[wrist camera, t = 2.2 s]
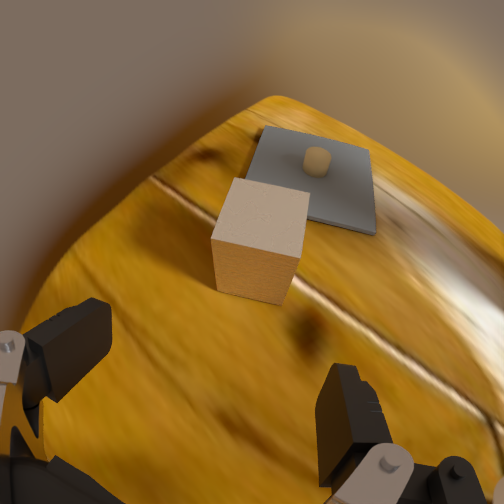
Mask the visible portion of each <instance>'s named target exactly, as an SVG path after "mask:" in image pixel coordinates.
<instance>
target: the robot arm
mask: <svg viewBox="0 0 504 504" xmlns="http://www.w3.org/2000/svg"><path fill="white" fill-rule="evenodd" d="M111 345H112V313H111V306H110V304H108V303H106V302H103V301H100V300H98V299H95V298H89V299H87V300H86V301H84V302H82V303H81V304H79V305H77V306H73V307H69V308H66V309H64V310H62V311H61V312H59V313H57V314H56V315H54V316H52V317H51V318H49V320H46V321H44V322H42V323H41V324H39V325H38V326H36V327H34V328H33V329H31V330H30V331H28V332H26V333H25V334H23V335H21V334H20V333H18V332H15V331H10V330H6V331H1V332H0V504H125V503H123V502H122V501H120V500H119V499H118V498H116V497H115V496H114V495H112V494H111V493H110V492H108V491H107V490H106V489H105V488H103V487H102V486H101V485H100V484H99V483H97V482H96V481H95V480H94V479H93V478H91V477H90V476H89V475H87V474H85V473H84V472H82V471H80V470H78V469H77V468H75V467H73V466H72V465H70V464H69V463H67V462H65V461H64V460H62V459H61V458H59V457H58V456H56V455H55V456H54V458H53V459H52V460H51V461H50V462H48V460H47V457H46V454H45V450H44V441H43V407H44V406H43V401H42V399H43V398H44V397H45V396H47V397H48V398H50V399H51V400H53V401H54V402H56V403H58V402H59V401H60V400H61V399H62V398H63V397H64V396H65V395H66V394H67V393H68V392H69V391H70V390H71V389H72V388H73V387H74V386H75V385H76V384H77V383H78V382H79V381H80V380H81V379H82V378H83V377H84V376H85V375H86V374H87V373H88V372H89V371H90V370H91V369H93V368H94V367H95V366H96V365H97V364H98V363H99V362H100V361H101V360H102V359H103V358H104V357H105V356H106V355H107V354H108V352H109V351H110V348H111ZM315 419H316V433H317V450H318V470H319V487H331V489H332V495H331V496H330V497H329V498H328V499H327V500H326V501H325V502H324V503H323V504H487V502H486V499H485V497H484V494H483V491H482V488H481V486H480V483H479V480H478V478H477V475H476V473H475V470H474V468H473V466H472V465H471V464H470V463H469V462H468V461H467V460H465V459H464V458H461V457H458V456H450V457H447V458H445V459H444V460H443V461H442V462H441V463H440V464H439V465H438V466H437V467H433V466H427V465H421V464H416V463H414V462H413V459H412V457H411V455H410V454H409V453H408V452H407V451H406V450H405V449H404V448H402V447H400V446H398V445H396V444H393V441H392V438H391V435H390V432H389V429H388V426H387V423H386V420H385V417H384V414H383V413H382V409H381V406H380V404H379V400H378V397H377V394H376V392H375V390H374V389H373V388H372V387H371V386H370V385H369V384H368V382H367V381H361V380H360V377H359V374H358V370H357V368H356V366H353V365H346V364H339V363H334V364H333V365H332V366H331V368H330V371H329V373H328V375H327V378H326V380H325V382H324V385H323V387H322V389H321V391H320V394H319V396H318V399H317V402H316V407H315Z"/></svg>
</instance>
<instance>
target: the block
mask: <svg viewBox="0 0 504 504" xmlns="http://www.w3.org/2000/svg"><path fill="white" fill-rule="evenodd" d="M309 197H310V193H307V192H303V191H299V190H294V189H290V188H285V187H280V186H276V185H271V184H266V183H261V182H256V181H251V180H246V179H241V178H235V177H234V180H233V182H232V185H231V187H230V190H229V192H228V195H227V197H226V200H225V202H224V205H223V207H222V210H221V212H220V215H219V218H218V220H217V223H216V225H215V228H214V231H213V233H212V236H211V245H212V253H213V261H214V269H215V276H216V284H217V291H220V292H224V293H228V294H232V295H237V296H241V297H245V298H249V299H253V300H258V301H262V302H267V303H271V304H275V305H280V306H282V304H283V301H284V299H285V296H286V294H287V291H288V289H289V286H290V284H291V281H292V279H293V276H294V274H295V271H296V269H297V266H298V264H299V261H300V258H301V252H302V246H303V239H304V233H305V226H306V219H307V212H308V205H309Z"/></svg>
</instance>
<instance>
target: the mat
mask: <svg viewBox="0 0 504 504" xmlns="http://www.w3.org/2000/svg"><path fill="white" fill-rule="evenodd" d="M245 179H246V180H251V181H256V182H261V183H266V184H271V185H276V186H280V187H285V188H290V189H294V190H299V191H303V192H307V193H310V197H309V205H308V212H307V219H309V220H313V221H318V222H322V223H326V224H330V225H334V226H338V227H342V228H346V229H350V230H354V231H358V232H362V233H366V234H370V235H375V234H376V218H375V203H374V191H373V181H372V171H371V163H370V155H369V150H367V149H364V148H361V147H357V146H354V145H350V144H347V143H343V142H339V141H335V140H331V139H327V138H323V137H319V136H315V135H311V134H306V133H302V132H297V131H292V130H287V129H282V128H277V127H272V126H266V125H265V128H264V130H263V133H262V135H261V138H260V141H259V143H258V146H257V148H256V151H255V154H254V156H253V159H252V162H251V164H250V167H249V170H248V172H247V175H246V178H245Z"/></svg>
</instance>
